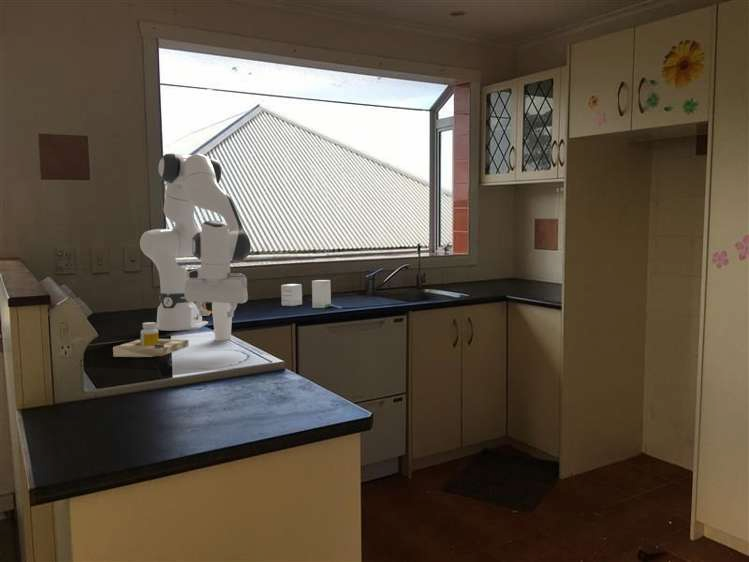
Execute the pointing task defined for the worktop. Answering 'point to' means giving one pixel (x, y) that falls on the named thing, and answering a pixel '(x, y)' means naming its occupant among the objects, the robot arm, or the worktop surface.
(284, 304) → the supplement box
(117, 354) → the cream square tray
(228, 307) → the drinking glass
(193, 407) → the worktop surface
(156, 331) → the supplement bottle
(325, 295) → the skincare box
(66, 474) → the worktop surface
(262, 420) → the worktop surface
